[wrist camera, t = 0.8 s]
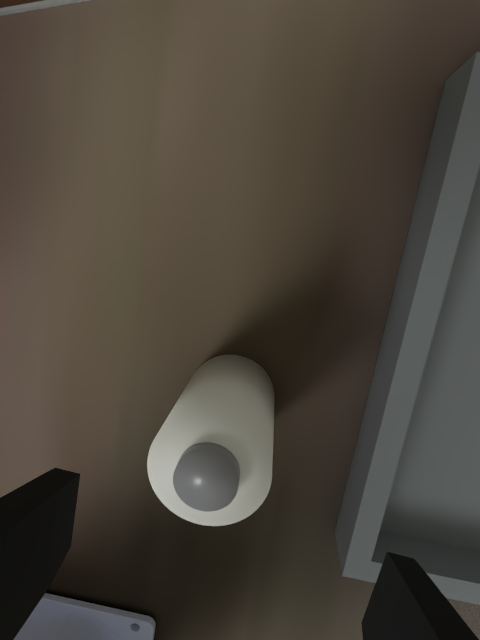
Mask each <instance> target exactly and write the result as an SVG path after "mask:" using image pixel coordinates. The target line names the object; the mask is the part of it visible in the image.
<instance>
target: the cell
mask: <svg viewBox="0 0 480 640" xmlns="http://www.w3.org/2000/svg"><path fill="white" fill-rule="evenodd" d="M274 407H275V393H274V387H273V384H272V381H271V379H270V377H269V376H268V374H267V373H266V372H265V370H264V369H263V368H262V367H261V366H260V365H258V364H257V363H256V362H254V361H252V360H250V359H248V358H246V357H243V356H239V355H220V356H217V357H214V358H211V359H209V360H208V361H206V362H204V363H203V364H202V365H201V366H200V367H199V368H198V369H197V370H196V372H195V373H194V374H193V376H192V378H191V379H190V381H189V383H188V384H187V386H186V388H185V389H184V391H183V393H182V394H181V396H180V397H179V399H178V401H177V402H176V404H175V406H174V407H173V409H172V411H171V412H170V414H169V416H168V417H167V419H166V420H165V422H164V424H163V425H162V427H161V429H160V430H159V432H158V434H157V435H156V437H155V439H154V441H153V442H152V444H151V447H150V450H149V453H148V459H147V470H148V476H149V480H150V483H151V486H152V488H153V490H154V492H155V494H156V495H157V497H158V498H159V499H160V501H161V502H162V503H163V504H164V505H165V506H166V507H167V508H168V509H169V510H170V511H172V512H173V513H174V514H176V515H177V516H179V517H181V518H183V519H185V520H187V521H190V522H192V523H196V524H200V525H206V526H224V525H229V524H233V523H236V522H239V521H241V520H243V519H245V518H247V517H248V516H250V515H251V514H253V513H254V512H255V511H256V510H257V509H258V508H259V507H260V506H261V505H262V503H263V502H264V500H265V499H266V497H267V495H268V492H269V490H270V486H271V481H272V465H273V436H274Z"/></svg>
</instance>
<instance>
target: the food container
mask: <svg viewBox="0 0 480 640" xmlns="http://www.w3.org/2000/svg"><path fill="white" fill-rule="evenodd" d="M84 1H89V0H0V16H3V15H9V14H14V13H20V12H26V11H32V10H37V9H43V8H49V7H55V6H60V5H66V4H72V3H78V2H84Z"/></svg>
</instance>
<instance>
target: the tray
mask: <svg viewBox="0 0 480 640" xmlns="http://www.w3.org/2000/svg"><path fill="white" fill-rule="evenodd" d="M334 534H335V539H336V545H337V550H338V556H339V562H340V567H341V573H342V576H344V577H349V578H353V579H358V580H363V581H368V582H372V583H376V581H377V578H378V575H379V573H380V570H381V567H382V564H383V561H384V558H385V556H386V553H387V552H390V553H394V554H398V555H402V556H406V557H410V558H414V559H415V560H416V561H417V562H418V564H419V565H420V566H421V567H422V568H423V570H424V571H425V572H426V573H427V575H428V576H429V577H430V578H431V580H432V581H433V582H434V584H435V585H436V586H437V587H438V589H439V590H440V591H441V592H442V594H443V595H444V596H445V598H449V599H453V600H458V601H463V602H468V603H472V604H477V605H480V52H476V53H475V54H474V55H473V56H472V57H470V58H469V59H468V60H467V61H466V62H465V63H464V64H463V65H462V66H461V67H459V68H458V69H457V70H456V71H455V72H454V73H453V74H452V75H451V76H450V77H449V78H447V79H446V80H445V84H444V88H443V92H442V96H441V100H440V105H439V109H438V113H437V117H436V121H435V125H434V129H433V133H432V137H431V141H430V145H429V149H428V154H427V158H426V162H425V166H424V170H423V174H422V178H421V182H420V186H419V190H418V194H417V198H416V203H415V207H414V211H413V215H412V219H411V223H410V227H409V231H408V235H407V239H406V243H405V247H404V252H403V256H402V260H401V264H400V268H399V272H398V276H397V280H396V284H395V288H394V292H393V296H392V300H391V305H390V309H389V313H388V317H387V321H386V325H385V329H384V333H383V337H382V341H381V345H380V349H379V354H378V358H377V362H376V366H375V370H374V374H373V378H372V382H371V386H370V390H369V394H368V398H367V403H366V407H365V411H364V415H363V419H362V423H361V427H360V431H359V435H358V439H357V443H356V447H355V452H354V456H353V460H352V464H351V468H350V472H349V476H348V480H347V484H346V488H345V492H344V496H343V501H342V505H341V509H340V513H339V517H338V521H337V525H336V529H335V533H334Z"/></svg>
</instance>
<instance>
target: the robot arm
mask: <svg viewBox="0 0 480 640" xmlns="http://www.w3.org/2000/svg"><path fill="white" fill-rule="evenodd" d="M79 479H80V474H78V473H74V472H70V471H66V470H62V469H58V468H54V469H52V470H50V471H48V472H46V473H45V474H43V475H41V476H39V477H37V478H35V479H34V480H32V481H30V482H28V483H26V484H25V485H23V486H21V487H19V488H17V489H16V490H14V491H12V492H10V493H8V494H7V495H5V496H3V497H1V498H0V640H154V633H155V626H156V625H155V621H154V619H153V618H151V617H150V616H147V615H142V614H138V613H133V612H129V611H124V610H120V609H115V608H111V607H106V606H102V605H97V604H93V603H88V602H84V601H79V600H75V599H70V598H66V597H61V596H57V595H52V594H48V593H46V591H47V589H48V587H49V586H50V584H51V582H52V580H53V578H54V577H55V575H56V573H57V571H58V569H59V567H60V566H61V564H62V562H63V560H64V558H65V556H66V554H67V552H68V551H69V549H70V547H71V540H72V532H73V524H74V517H75V509H76V502H77V494H78V486H79ZM135 623H136V624H135ZM362 632H363V640H479V639H478V638H477V637H476V636H475V634H474V633H473V632H472V631H471V629H470V628H469V627H468V626H467V624H466V623H465V622H464V621H463V619H462V618H461V617H460V615H459V614H458V613H457V612H456V610H455V609H454V608H453V607H452V605H451V604H450V603H449V601H448V600H447V599H446V598H445V596H444V595H443V594H442V592H441V591H440V590H439V589H438V587H437V586H436V585H435V584H434V582H433V581H432V580H431V578H430V577H429V576H428V575H427V573H426V572H425V571H424V570H423V568H422V567H421V566H420V565H419V564H418V562H417V561H416V560H415V559H414V558H410V557H406V556H402V555H398V554H394V553H390V552H387V553H386V556H385V558H384V561H383V564H382V567H381V570H380V573H379V575H378V578H377V581H376V584H375V587H374V590H373V592H372V595H371V598H370V601H369V604H368V607H367V609H366V612H365V615H364V618H363V621H362Z"/></svg>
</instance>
